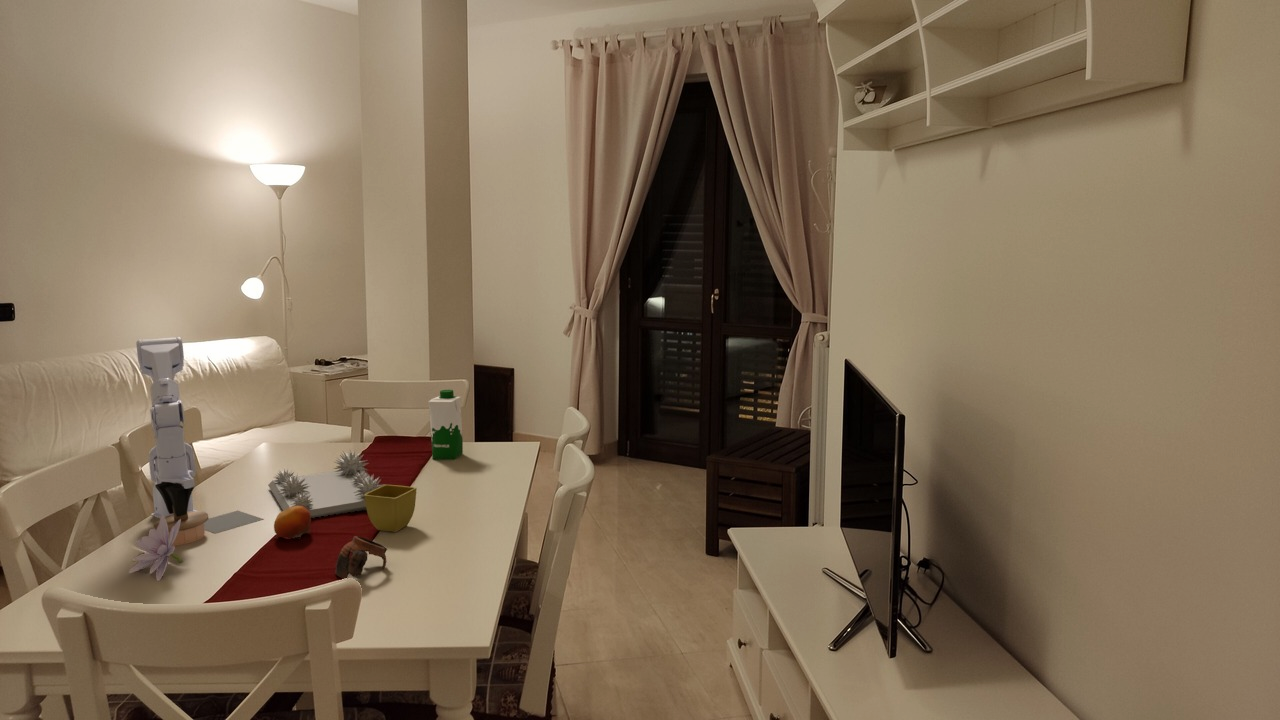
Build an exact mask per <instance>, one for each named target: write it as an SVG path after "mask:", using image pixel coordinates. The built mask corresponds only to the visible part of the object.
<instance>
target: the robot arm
mask: <svg viewBox="0 0 1280 720" xmlns="http://www.w3.org/2000/svg"><path fill="white" fill-rule="evenodd" d="M135 343H136V352H137V362H138V365H139V370H140V371H141V374H143V375H145V376H149V377H150V378H151V381H152V384H151V385H150V388H149V389H150V397H151V400H150V401H151V407H150V408H149V410H150V412H149V413H150V421H151V426H152V430H153V435H154V439H155V445H154V447H151V449H150V450H149V452H148V456H149V458H148V467H149V474H150V475H149V476H150V481H152V482H153V483H154V484H153V487H152V498H153V506H154V507H153V508H154V512H153V513H151V514H150V516H152V517H154V516H155V517H154V518H157V519H160V518H161V516H162V515H164V517H166V516H169V515H173V507H174V512H175V514H176V516H177V517H179V516H182V515H186V514H187V512H190V511H198V510H196V509H194V500H193V491H194V489H195V487H196V486H195V485H196V484H195V483H196V482H195V478H194V477H195V476H196V474H197V472H196V463H195V462H196V460H195V454H194V450H193V447H192V445H191V444H189V443H187V442H186V441H185V433H184V432H185V431H184V427H185V423H186V421H185V409H184V405H183V402H182V399H181V398H180V387H179V384H178V383H177V381H175V376H176V374H178V373H180V372H181V371H183V370H184V369H183V368H184V366H185V365H184V360H185V357H184V355H185V354H184V345H183V339H182V338H181V337H180V336H176V337H163V338H148V339H147V338H146V339H145V338H144V339H141V338H139V339H137V341H136V342H135ZM181 423H182V424H183V425H182V424H181ZM172 506H173V507H172Z"/></svg>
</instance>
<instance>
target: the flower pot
mask: <svg viewBox="0 0 1280 720" xmlns="http://www.w3.org/2000/svg"><path fill="white" fill-rule="evenodd" d="M382 485H383V484H382ZM364 498H365V503H366V508H367V510H366V512H367V516H368V519H369V521H370V523H371V524H372V525H373V527H375V529H376V530H378V531H384V532H392V533H396V532H398V531H399V530H401V529H403V528H405V527H407V526H408V525H409V523H410V522H411V519H412V517H413V515H414V512H415V507H416V499H417V487H415V486H407V485H406V486H405V485H394V484H385V485H383V486H381V487H379V488H377V489H375V490H373V491H371V492H368V493H366V494H365V495H364Z"/></svg>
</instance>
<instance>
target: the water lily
mask: <svg viewBox="0 0 1280 720" xmlns="http://www.w3.org/2000/svg"><path fill="white" fill-rule="evenodd" d="M159 519H160V522H159V526H158V527H157V530H156V529H154V528H150V529H149V532H148V536H147V535H146V536H145V535H144V536H142V537H141V539H138V540H136V541H135V545H136V547H137V548H138V549H140V550H141V551H143V552H146V553H143V554H140V555H139V554H138V555H137V556H135V557H134V558H133V559H132V561H133V562H137V564H135V565H134V566H133V567H131V569H130V570H129V571H128V574H131V573H135V572H139V571H141V570H143V569H145V568H147V567H150V566H151V565H152V566H151V567H150V570H149V574H152V573H154V572H155V571H156V573H155V574H156V575H155V578H156V580H157V581H161V579H162V577H163V576H164V574H165V572H166V570H167V567H168V563H169V556H171V557H172V558H174V559H175V560H176V561H177V562H179V563H183V562H184V560H182V558H180V557H179V556H178V555H176V554H175V553H174V551H175V546H171V545H172V544H173V542H174V540H175V538H176V536H177V534H178V531H179V527H180V523H181V519H180V520H179V521H178V522H177V523H176V524H175V526H173V527H172V529H171V531H170V536H169V532H168V525H167V522H166V519H165V517H164V515H162V516H161V518H159ZM168 540H169V542H168Z"/></svg>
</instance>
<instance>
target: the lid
mask: <svg viewBox="0 0 1280 720" xmlns="http://www.w3.org/2000/svg"><path fill="white" fill-rule="evenodd" d="M172 507H173V506H172ZM165 519H166V522H167V525H168V532H170V531H171V529H172V527H173V526H175V524H176V523H177V522H178V521H179V520H180V519H181V523H180V527H179V531H181V530H186V529H190V528H193V527H196V526H199V525H201V524H203V523H205V522H206V521H207V520H208V519H209V514H208V512H206V511H205V512H204V511H202V510H201V511H200V510H197V511H190V512H187V514H186V515H182V516H179V517H177V516H176V514H175V512H174V507H173V515H169V516H166V517H165ZM159 522H160V518H158V520H156V521H154V524H153V529H154V528H155V529H156V530H157V527H158V526H159Z"/></svg>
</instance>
